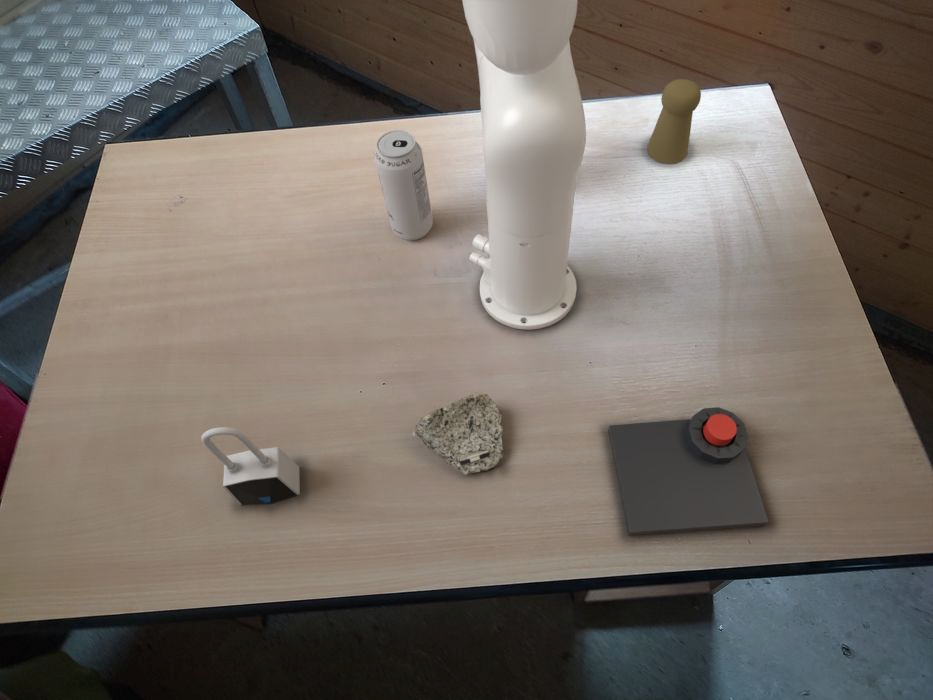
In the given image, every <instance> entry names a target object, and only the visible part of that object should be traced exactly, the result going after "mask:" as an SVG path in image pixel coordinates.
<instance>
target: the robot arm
mask: <svg viewBox="0 0 933 700" xmlns="http://www.w3.org/2000/svg"><path fill="white" fill-rule="evenodd" d="M461 1H462V6H463V11H464V17H465V21H466V23H467V26H468V29H469V32H470V35H471V37H472V39H473V44H474V51H475V56H476V65H477V71H478V81H479V91H480V95H479V102H480V103H479V104H480V115H481V116H480V117H481V131H482V150H483V162H484V181H485V199H486V211H487V212H486V213H487V214H486V215H487V231H488V232H487V233H488V237H486V236H484V235H483V234H480V233H478V234H476V235H475V236H474V238H473V240H472V244H471V246H472V247H473V248H475V249H476V250H478V251H480V252H482V253H485V254H487V255H489V257H488V258H486V257H485V256H483V255H482V254H480V253H478V252H477V251H472V252H471V254H470V255H469V258H468V260H469V262H471V263H473V264H475V265H476V266H479V267H480V268H481V269H482V271H483V273H482V275H481V277H480V282H479V296H480V301H481V304H482V306H483V307H484V310H485V311H486V312H487V314H489V316H491V318H492V319H494V320H495V321H497V322H499V324H502V325H504V326H507V327H509V328H513V329H518V330H524V331H525V330H527V331H528V330H529V331H532V330H539V329H543V328H547V327H550V326H552V325H554V324H556V323H558V322H559V321H561V320H562V319H563V318H565V317H566V316H567V314H569V312H570V311H571V309H572V308H573V306H574V304H575V301H576V297H577V291H578V289H577V280H576V277H575V273H574V272H573V270H572V269H571V268H570V267H569V265H568V262H569V250H570V245H571V244H570V242H571V233H572V223H573V215H574V206H575V205H574V204H575V195H576V187H577V181H578V177H579V176H578V175H579V172H580V169H581V165H582V161H583V159H584V154H585V150H586V144H587V143H586V142H587V124H586V115H585V110H584V104H583V98H582V96H581V95H582V94H581V90H580V86H579V81H578V77H577V74H576V69H575V66H574V65H575V64H574V61H573V56H572V51H571V43H570V38H571V35H572V33H573V31H574V26H575V23H576V22H575V21H576V17H577V11H578V1H579V0H461Z"/></svg>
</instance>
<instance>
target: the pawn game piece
mask: <svg viewBox="0 0 933 700" xmlns="http://www.w3.org/2000/svg"><path fill="white" fill-rule="evenodd" d="M701 98H702V91H701V89H700V87H699V85H698V84H697V83H696V82H694V81H692V80H689V79H686V78H685V79H684V78H680V79H673V80H672V81H670V82H668V84H667V85H665V87H664V88H663V91H662V93H661V106H662V109H661V110H660V114H659V115H658V118H657V121H656V123H655V126H654V128H653V131H652V134H651V136H650V138H649V141H648V144H647V146H646V152H647V155H648V156H649V158H651V159H652V160H653V161H655V162H657V163H660V164H664V165H675V164H678V163H681V162H682V161H684V160H685V159H686V158H687V156H688V152H689V144H690V136H691V130H692V121H693V114H694V111H695V110H696V109H697V107H698V106H699V104H700V102H701Z"/></svg>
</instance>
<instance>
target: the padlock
mask: <svg viewBox="0 0 933 700" xmlns="http://www.w3.org/2000/svg"><path fill="white" fill-rule="evenodd" d="M221 435H223V436H225V435H226V436H232V437H235V438H237V439H238V440H239V441H240V442H241V443H242V444H243V445H244V446H245V447H246V448H247V449H248V450H246V451H245V450H244V451H242V452H241V451H240V452H237V453H233V454H228V455H226V454H225V453H224V452H223V451H222V450H221V449H220V448H219V447H218V446H217V445H216V444H215V443H214V442H213V440H211V438H212V437H215V436H221ZM200 439H201V443H202V444H203V445H204V446H205V447H206V448H207V449H208V450H209V451H210V453H211V454H213V456H215V457H216V458H217V459H218V460H219V461H220V462H221V463H222V464H223V484H222V487H223V488H224V490H226V492H227V493H228V494H229V495H230V496H231V497H232V499H234V500H235V502H236V503H237V504H238V505H239V506H248V505H251V506H252V505H270V504H274V503H277V502H281V501H283V500H287V499H290V498H294V497H296V496H299V495H301V492H300V487H301V486H300V485H301V483H300V466H299V465H298V464H297V463H296V462H295V461H294V460H293V459H292V458H291V457H289V456H288V455H287V454H286V453H285V451H283V450H282V449H281V448H280V447H279V446H278V447H277V446H276V447H268V448H259V447H258V446H257V445H256V444H255V443H254V442H253V441H252V440H251V438H249V437H248V436H247V435H246V434H245V433H244V432H243V431H241V430H240V429H238V428H234V427H230V426H229V427H228V426H219V427H214V428H210V429H207V430H206V431H204V432H203V433H202V435H201V437H200Z"/></svg>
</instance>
